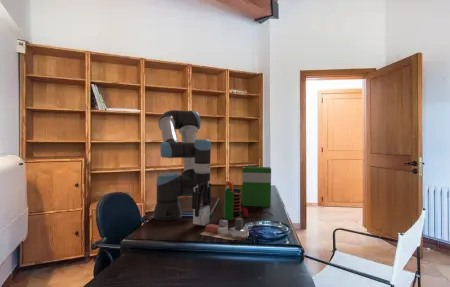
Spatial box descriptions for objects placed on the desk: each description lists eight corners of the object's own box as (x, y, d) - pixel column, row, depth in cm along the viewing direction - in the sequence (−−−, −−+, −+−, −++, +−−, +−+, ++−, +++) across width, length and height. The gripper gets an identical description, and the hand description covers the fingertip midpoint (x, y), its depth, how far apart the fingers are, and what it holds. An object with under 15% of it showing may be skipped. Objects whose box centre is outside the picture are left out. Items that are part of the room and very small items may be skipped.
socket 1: (193, 223, 138) (193, 206, 137) (199, 220, 143) (199, 203, 142) (203, 225, 135) (203, 207, 135) (209, 222, 140) (209, 205, 140)
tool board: (200, 236, 128) (200, 234, 128) (214, 228, 139) (214, 226, 139) (251, 246, 117) (251, 243, 117) (262, 236, 129) (262, 234, 128)
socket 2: (217, 230, 133) (217, 221, 133) (221, 227, 137) (221, 219, 137) (225, 231, 132) (225, 222, 132) (229, 228, 135) (229, 220, 135)
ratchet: (202, 233, 129) (203, 216, 129) (211, 228, 136) (212, 212, 136) (244, 240, 120) (244, 222, 120) (251, 235, 127) (251, 218, 127)
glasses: (236, 212, 171) (236, 204, 170) (261, 210, 177) (261, 202, 176) (246, 218, 158) (246, 209, 157) (273, 216, 164) (273, 207, 163)
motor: (239, 222, 149) (239, 183, 148) (221, 221, 150) (222, 182, 150) (242, 217, 159) (242, 180, 158) (225, 216, 160) (226, 179, 160)
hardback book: (269, 204, 192) (270, 167, 191) (270, 206, 184) (271, 168, 184) (242, 203, 193) (243, 166, 193) (242, 205, 186) (242, 167, 185)
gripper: (198, 175, 128) (197, 228, 129) (218, 170, 145) (217, 217, 146) (184, 174, 131) (183, 225, 132) (205, 169, 148) (204, 215, 149)
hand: (201, 221), depth 139 cm, fingers closed on socket 1, 6 cm apart
